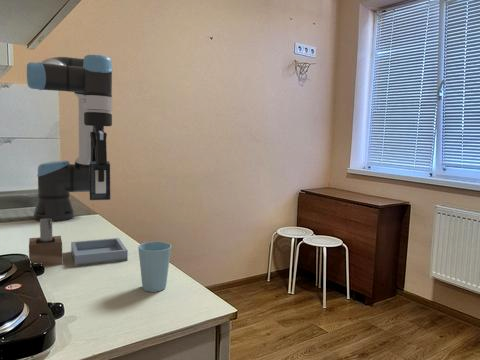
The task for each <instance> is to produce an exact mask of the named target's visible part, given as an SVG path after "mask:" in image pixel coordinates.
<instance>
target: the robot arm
mask: <svg viewBox="0 0 480 360" xmlns="http://www.w3.org/2000/svg"><path fill="white" fill-rule="evenodd" d="M83 57H84V58H78V57H69V56H56V57H50V58H45V59H43V60H42V61H41V62H34V61H33V62H31V61H30V62H28V63H27V64H26V81H27V87H28V88H30V89H32V90H39V91H54V92H55V91H56V92H57V91H58V92H68V93H69V92H71V93H73V94H74V95H75V96H76V97H77V98H78V156H77V157H76V158H75V159H74V164H70V161H68V160H58V161H56V160H55V161H50V162H44V163H41V164H39V165H38V167H37V175H36V177H37V192H38V193H37V194H38V195H37V196H38V199H37V203H36V205H35V208H34V212H33V219H34V220H35V221H39V222H40V219H45V218H50V219H52V222H59V221H66V220H67V221H68V220H71V219H73V218H74V217H75V210H74V207H73V205H72V201H71V200H70V199H71V198H70V193H83V192H84V193H85V192H86V193H90V179H89V164H90V161H96V167H94V168H93V170H95V193H96V194H97V193H106V168H107V161H108V158H107V157H108V156H107V155H108V153H107V151H108V150H107V132H106V131H105V127H112V125H113V114H112V113H111V112H112V111H113V95H112V94H113V93H112V92H113V90H112V89H113V88H112V87H113V79H112V78H113V64H112V59H111V58H110V57H109V56H106V55H101V54H86V55H85V56H83Z"/></svg>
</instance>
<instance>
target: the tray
mask: <svg viewBox="0 0 480 360" xmlns="http://www.w3.org/2000/svg"><path fill="white" fill-rule="evenodd" d="M70 245H71V246H70V249H71V250H70V251H71V255H72V259H73V263H74V267H81V266H90V265H101V264H107V263H116V262H117V263H118V262H124V261H126V262H127V261H128V258H129V257H128V256H129V255H128V252H129V251H128V249H127V247H126V245H124V243H123V242H122V241H121V238H120V237H114V238H113V237H112V238H102V239H91V240H90V239H89V240H80V241H79V240H78V241H71V242H70Z"/></svg>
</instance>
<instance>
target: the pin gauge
mask: <svg viewBox="0 0 480 360" xmlns="http://www.w3.org/2000/svg"><path fill="white" fill-rule="evenodd" d="M39 231H40V232H39V234H40V235H39V237H40V241H41V243H50V242H53V239H52V236H53V221H52V219H50V218H45V219H40V221H39Z"/></svg>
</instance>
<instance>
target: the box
mask: <svg viewBox="0 0 480 360" xmlns="http://www.w3.org/2000/svg"><path fill="white" fill-rule="evenodd" d="M94 167H96V161H90V164H89V179H90V192H89V200H90V201H109V200H111V162H110V160H109V161H108V160H107V168H106V193H97V194H96V193H95V170H93V168H94Z"/></svg>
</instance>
